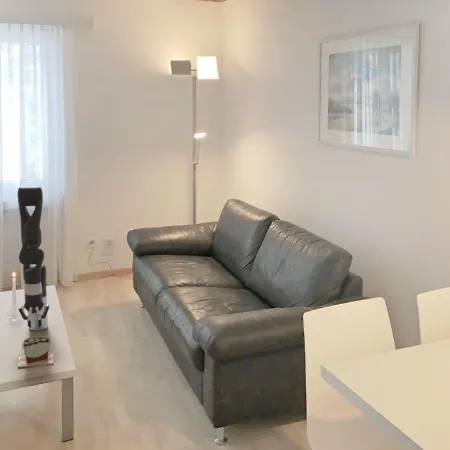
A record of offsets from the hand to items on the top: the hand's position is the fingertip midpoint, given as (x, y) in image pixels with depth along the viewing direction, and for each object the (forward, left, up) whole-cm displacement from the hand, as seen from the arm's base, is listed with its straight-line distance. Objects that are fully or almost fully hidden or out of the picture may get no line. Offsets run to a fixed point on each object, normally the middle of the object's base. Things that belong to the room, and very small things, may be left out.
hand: (34, 326), depth 265 cm
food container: (+8, 0, -13) cm, 15 cm away
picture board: (+8, 0, -13) cm, 15 cm away
